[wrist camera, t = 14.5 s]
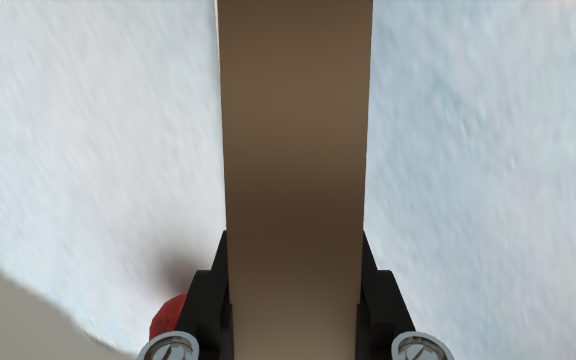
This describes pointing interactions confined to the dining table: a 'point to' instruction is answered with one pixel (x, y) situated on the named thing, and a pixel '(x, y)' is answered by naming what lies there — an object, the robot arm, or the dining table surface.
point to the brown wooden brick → (294, 172)
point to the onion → (167, 316)
